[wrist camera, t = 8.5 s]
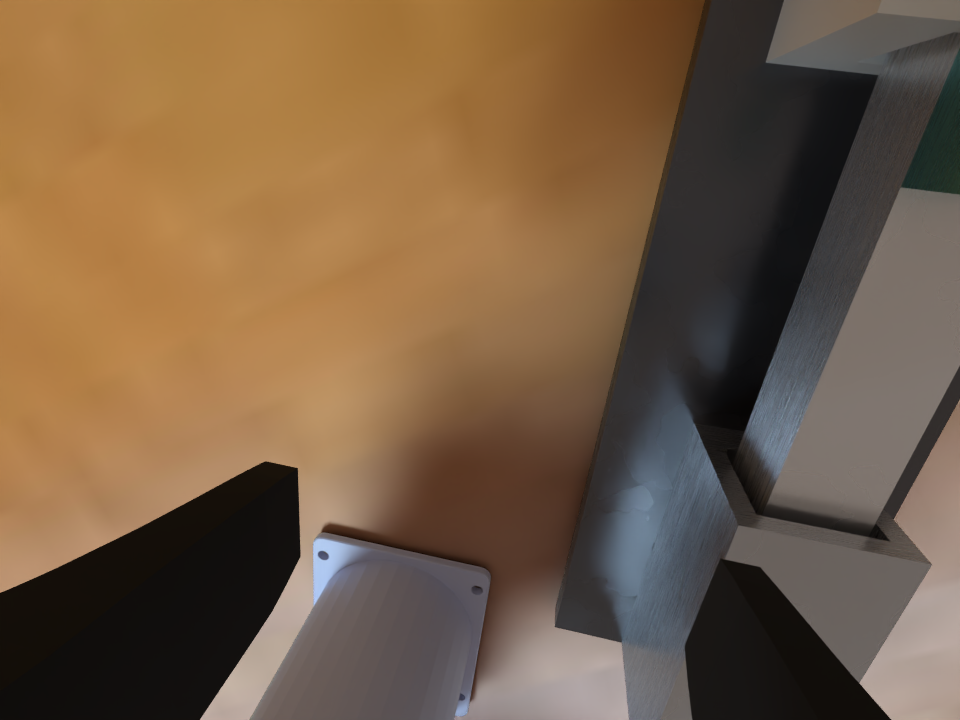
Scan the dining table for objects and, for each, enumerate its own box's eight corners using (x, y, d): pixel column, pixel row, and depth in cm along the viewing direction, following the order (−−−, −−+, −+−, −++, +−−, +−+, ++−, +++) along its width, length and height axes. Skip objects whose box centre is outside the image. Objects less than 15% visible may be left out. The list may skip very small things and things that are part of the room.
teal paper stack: (797, 533, 16) (961, 815, 9) (713, 515, 17) (812, 777, 10) (1080, -78, 10) (2132, -544, 3) (939, -88, 11) (1639, -539, 4)
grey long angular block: (793, 661, 22) (869, 842, 16) (555, 607, 23) (549, 759, 17) (1190, -94, 12) (1758, -318, 6) (736, -128, 13) (864, -345, 7)
